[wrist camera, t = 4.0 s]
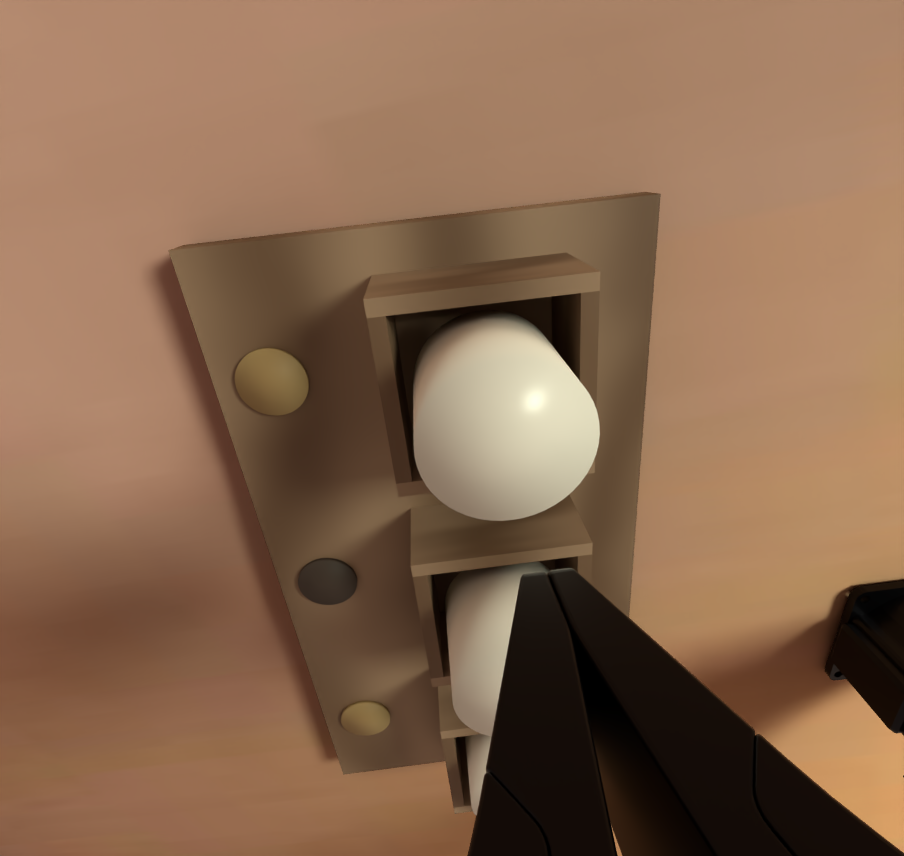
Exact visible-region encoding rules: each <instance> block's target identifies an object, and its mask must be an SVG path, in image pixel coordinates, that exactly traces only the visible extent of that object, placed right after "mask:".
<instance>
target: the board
mask: <svg viewBox="0 0 904 856" xmlns="http://www.w3.org/2000/svg"><path fill="white" fill-rule="evenodd" d="M659 208H660V194H657V193H649V192H641V193H632V194H623V195H615V196H606V197H597V198H589V199H580V200H571V201H563V202H554V203H545V204H537V205H528V206H519V207H511V208H502V209H493V210H484V211H476V212H467V213H458V214H450V215H441V216H432V217H424V218H415V219H406V220H398V221H389V222H380V223H372V224H363V225H354V226H346V227H337V228H328V229H319V230H311V231H302V232H293V233H285V234H276V235H267V236H259V237H250V238H241V239H233V240H224V241H215V242H207V243H198V244H189V245H183V246H180V247H177V248H174V249H172V250H169V254H170V257H171V260H172V263H173V266H174V269H175V272H176V275H177V278H178V281H179V284H180V287H181V290H182V293H183V296H184V299H185V302H186V305H187V308H188V311H189V314H190V317H191V320H192V323H193V326H194V329H195V332H196V335H197V338H198V341H199V344H200V347H201V349H202V352H203V355H204V358H205V361H206V364H207V367H208V370H209V373H210V376H211V379H212V382H213V385H214V388H215V391H216V394H217V397H218V400H219V403H220V406H221V409H222V412H223V415H224V418H225V421H226V424H227V427H228V430H229V433H230V436H231V439H232V442H233V445H234V448H235V451H236V454H237V457H238V460H239V463H240V466H241V469H242V472H243V475H244V478H245V481H246V484H247V487H248V490H249V493H250V496H251V499H252V502H253V505H254V508H255V511H256V514H257V517H258V520H259V523H260V526H261V529H262V532H263V535H264V538H265V541H266V544H267V547H268V550H269V553H270V556H271V559H272V562H273V565H274V568H275V571H276V574H277V577H278V580H279V583H280V586H281V589H282V592H283V595H284V598H285V601H286V604H287V607H288V610H289V613H290V616H291V619H292V622H293V625H294V628H295V631H296V634H297V637H298V640H299V643H300V646H301V649H302V652H303V655H304V658H305V661H306V664H307V667H308V670H309V673H310V676H311V679H312V682H313V685H314V688H315V691H316V694H317V697H318V700H319V703H320V706H321V709H322V712H323V715H324V718H325V721H326V724H327V727H328V730H329V733H330V736H331V739H332V742H333V745H334V748H335V751H336V754H337V757H338V760H339V762H340V765H341V768H342V771H343V774H351V773H359V772H366V771H374V770H381V769H389V768H396V767H404V766H411V765H419V764H427V763H434V762H442V761H446V767H447V772H448V778H449V784H450V789H451V795H452V801H453V806H454V812H455V814H456V813H464V812H471V811H473V810H472V807H471V797H470V787H469V776H468V765H467V755H466V744H465V736H469V735H476V734H481V733H479V732H476V731H474V730H473V729H471V728H469V727H468V726H467V725H465V724H464V723H463V722H462V721H461V720H460V719H459V717H458V716H457V714H456V712H455V710H454V707H453V701H452V688H451V675H450V662H449V649H448V636H447V623H446V610H445V597H446V593H447V590H448V588H449V586H450V584H451V582H452V581H453V579H454V578H455V577H456V576H457V575H458V574H459V573H460V572H461V571H465V570H472V569H480V568H488V567H496V566H504V565H512V564H520V563H528V562H536V561H538V562H540V563H542V564H543V565H545V566H546V567H547V568H548V569H549V570H550V571H551V570H557V569H564V568H572V569H574V570H576V571H577V572H578V573H579V574H580V575H581V576H583V577H584V578H585V579H586V580H587V581H588V582H589V583H590V584H592V585H593V586H594V587H595V588H596V589H597V590H598V591H599V592H601V593H602V594H603V595H604V596H605V597H606V598H607V599H608V600H610V601H611V602H612V603H613V604H614V605H615V606H616V607H617V608H618V609H620V610H621V611H622V612H623V613H624V614H625V615H626V616H627V617H629V610H630V596H631V583H632V569H633V556H634V543H635V529H636V516H637V502H638V489H639V476H640V462H641V449H642V435H643V422H644V409H645V395H646V382H647V368H648V355H649V342H650V328H651V315H652V301H653V288H654V275H655V261H656V248H657V234H658V221H659ZM478 310H501V311H506V312H510V313H513V314H516V315H518V316H520V317H522V318H524V319H526V320H528V321H529V322H531V323H532V324H533V325H535V326H536V327H537V328H538V329H539V330H540V331H541V332H542V333H543V334H544V336H545V337H546V338H547V340H548V341H549V342H550V343H551V345H552V346H553V347H554V349H555V350H556V351H557V352H558V354H559V355H560V356H561V358H562V359H563V360H564V361H565V363H566V364H567V365H568V367H569V368H570V369H571V370H572V372H573V373H574V374H575V376H576V377H577V378H578V379H579V381H580V382H581V383H582V385H583V386H584V387H585V389H586V390H587V391H588V393H589V394H590V396H591V398H592V400H593V402H594V404H595V407H596V410H597V413H598V418H599V426H600V436H599V445H598V449H597V453H596V456H595V458H594V461H593V463H592V466H591V467H590V469H589V471H588V473H587V475H586V476H585V477H584V479H583V480H582V481H581V483H580V484H579V485H578V486H577V487H576V488H575V489H574V490H573V491H572V492H571V493H570V494H569V495H568V496H567V497H565V498H564V499H563V500H561V501H560V502H559V503H557V504H556V505H554V506H552V507H550V508H548V509H547V510H545V511H542V512H540V513H537V514H535V515H532V516H528V517H525V518H521V519H515V520H506V521H491V520H483V519H477V518H473V517H470V516H467V515H464V514H462V513H459V512H457V511H455V510H453V509H451V508H450V507H448V506H447V505H445V504H444V503H442V502H441V501H440V500H439V499H438V498H437V497H436V496H435V495H433V494H432V492H431V491H430V490H429V489H428V487H427V486H426V485H425V483H424V481H423V479H422V478H421V476H420V473H419V471H418V468H417V465H416V461H415V457H414V439H413V374H414V368H415V363H416V361H417V358H418V355H419V353H420V351H421V349H422V347H423V346H424V344H425V343H426V341H427V340H428V339H429V337H430V336H431V335H432V334H433V333H434V332H435V331H436V330H437V329H438V328H440V327H441V326H442V325H443V324H445V323H446V322H448V321H450V320H451V319H453V318H455V317H457V316H460V315H462V314H465V313H468V312H472V311H478Z"/></svg>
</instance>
